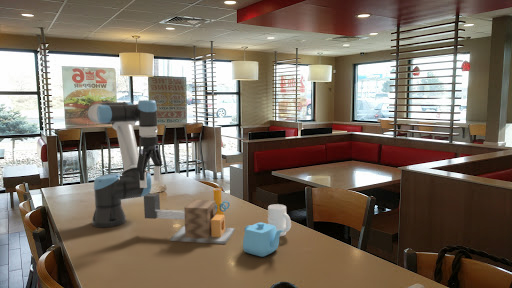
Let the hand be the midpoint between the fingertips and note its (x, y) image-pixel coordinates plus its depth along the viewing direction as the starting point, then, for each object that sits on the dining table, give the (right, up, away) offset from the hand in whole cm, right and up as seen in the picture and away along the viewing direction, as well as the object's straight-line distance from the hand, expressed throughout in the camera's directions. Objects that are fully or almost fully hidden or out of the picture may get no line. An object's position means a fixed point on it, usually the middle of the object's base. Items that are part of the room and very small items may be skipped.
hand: (150, 183), depth 166 cm
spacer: (+30, -18, -4) cm, 35 cm away
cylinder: (+28, -20, +21) cm, 40 cm away
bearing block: (+23, -22, -2) cm, 32 cm away
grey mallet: (+11, -15, -1) cm, 18 cm away
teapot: (+50, -25, -21) cm, 59 cm away
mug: (+57, -22, -2) cm, 61 cm away
